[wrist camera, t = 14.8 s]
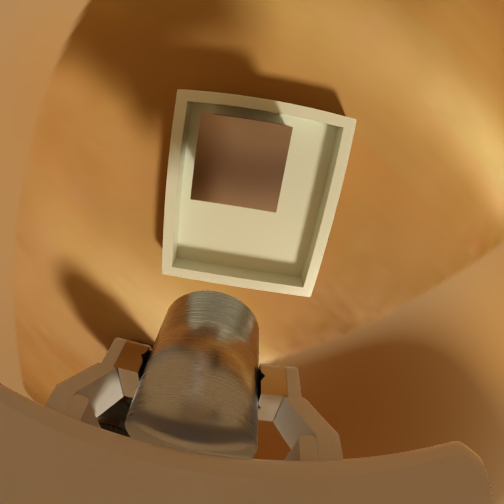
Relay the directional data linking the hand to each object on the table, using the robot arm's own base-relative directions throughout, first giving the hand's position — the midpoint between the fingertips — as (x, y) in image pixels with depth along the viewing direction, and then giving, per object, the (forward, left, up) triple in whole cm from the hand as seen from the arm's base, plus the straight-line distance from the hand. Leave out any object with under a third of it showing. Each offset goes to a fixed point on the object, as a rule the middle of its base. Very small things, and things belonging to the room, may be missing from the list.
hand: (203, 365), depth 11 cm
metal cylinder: (0, 0, -2) cm, 2 cm away
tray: (-4, +1, -14) cm, 14 cm away
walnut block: (-7, 0, -13) cm, 15 cm away
